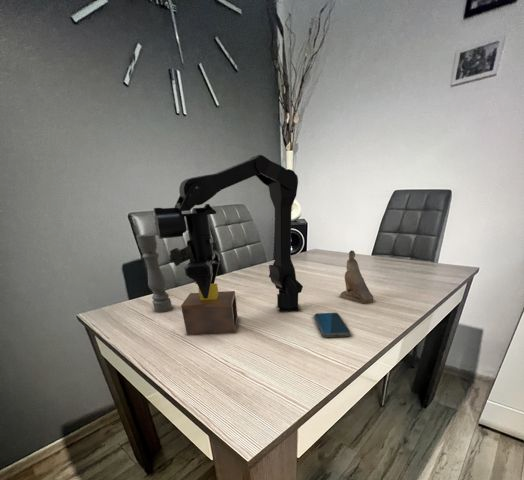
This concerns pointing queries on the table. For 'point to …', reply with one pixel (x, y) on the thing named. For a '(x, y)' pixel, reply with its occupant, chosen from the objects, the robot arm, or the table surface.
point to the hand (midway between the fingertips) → (208, 292)
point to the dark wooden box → (210, 314)
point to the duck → (210, 293)
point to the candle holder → (154, 273)
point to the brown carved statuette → (355, 283)
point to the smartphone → (331, 325)
